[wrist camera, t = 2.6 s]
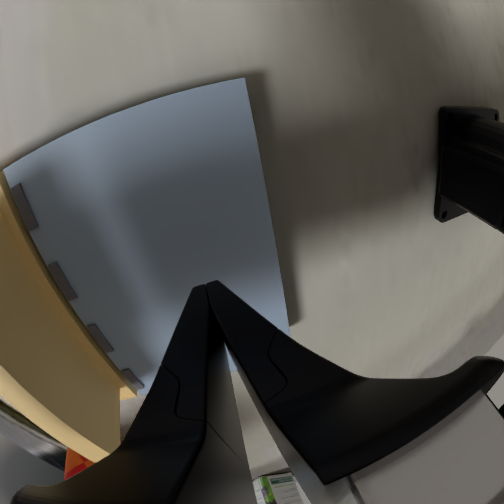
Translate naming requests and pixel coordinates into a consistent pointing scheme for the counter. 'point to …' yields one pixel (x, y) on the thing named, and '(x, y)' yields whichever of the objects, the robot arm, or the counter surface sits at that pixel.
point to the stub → (52, 349)
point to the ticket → (154, 219)
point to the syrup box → (277, 489)
